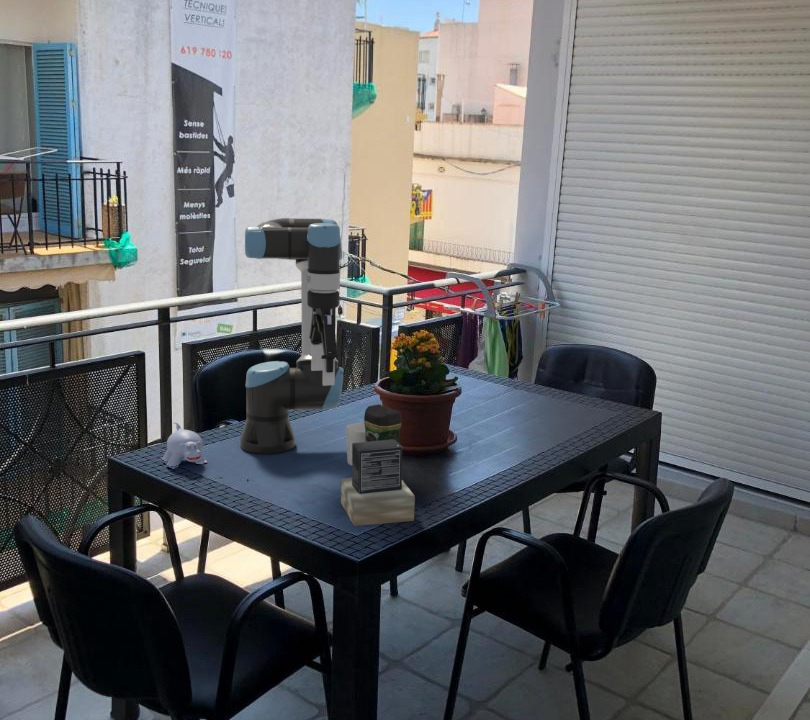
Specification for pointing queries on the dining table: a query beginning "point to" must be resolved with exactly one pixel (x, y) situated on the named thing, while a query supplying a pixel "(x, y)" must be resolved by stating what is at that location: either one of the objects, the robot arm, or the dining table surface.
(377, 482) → the small box
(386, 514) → the plinth
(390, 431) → the coffee jar
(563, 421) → the dining table surface
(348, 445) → the white cup
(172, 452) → the hippopotamus toy
